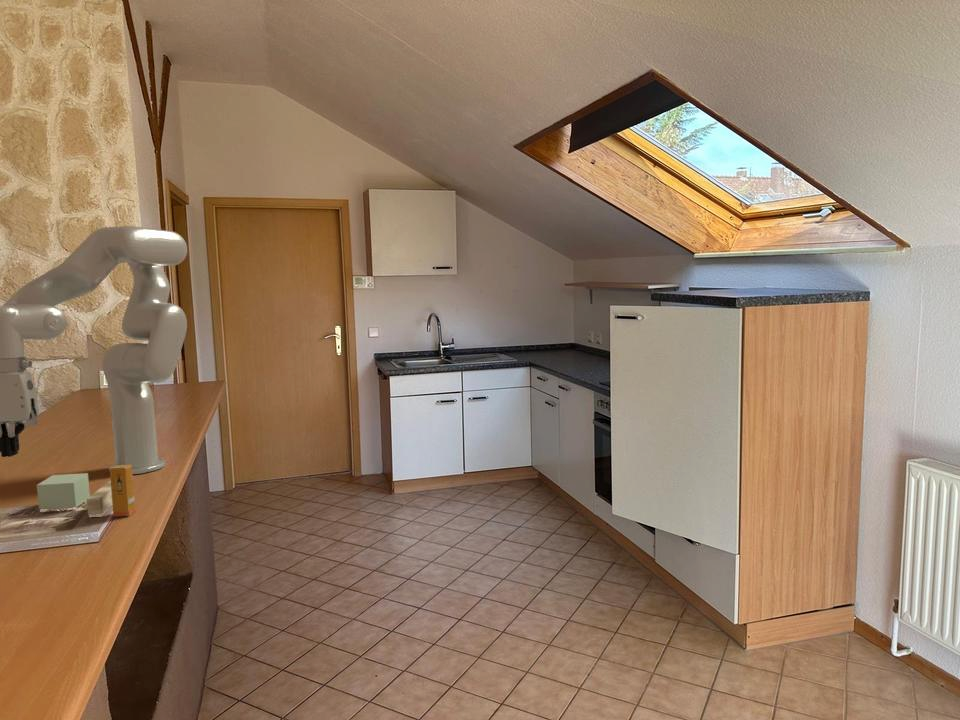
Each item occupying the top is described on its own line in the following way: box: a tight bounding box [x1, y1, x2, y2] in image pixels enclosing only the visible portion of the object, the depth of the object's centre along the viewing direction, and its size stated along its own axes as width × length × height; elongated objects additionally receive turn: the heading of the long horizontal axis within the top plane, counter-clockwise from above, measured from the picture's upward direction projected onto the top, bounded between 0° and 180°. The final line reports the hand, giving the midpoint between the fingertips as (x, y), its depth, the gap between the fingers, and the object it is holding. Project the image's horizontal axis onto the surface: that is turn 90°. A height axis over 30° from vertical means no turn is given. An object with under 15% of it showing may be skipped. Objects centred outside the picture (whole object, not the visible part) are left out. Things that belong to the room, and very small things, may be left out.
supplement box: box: [109, 465, 137, 518], centre depth 136 cm, size 3×3×10 cm
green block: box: [36, 472, 91, 510], centre depth 142 cm, size 7×7×6 cm
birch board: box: [86, 479, 112, 515], centre depth 143 cm, size 18×2×4 cm, turn 9°
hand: (10, 455), depth 139 cm, fingers closed
